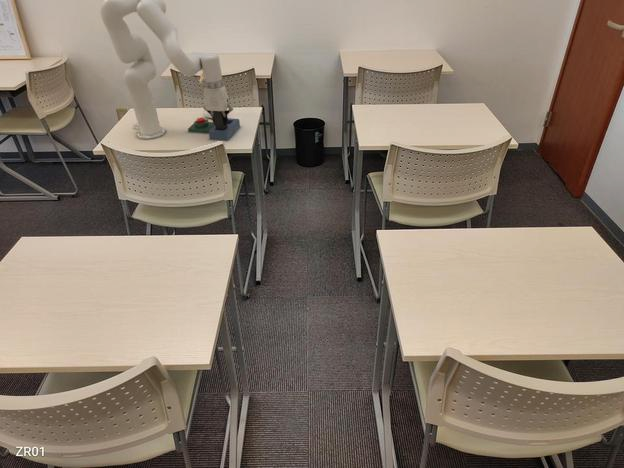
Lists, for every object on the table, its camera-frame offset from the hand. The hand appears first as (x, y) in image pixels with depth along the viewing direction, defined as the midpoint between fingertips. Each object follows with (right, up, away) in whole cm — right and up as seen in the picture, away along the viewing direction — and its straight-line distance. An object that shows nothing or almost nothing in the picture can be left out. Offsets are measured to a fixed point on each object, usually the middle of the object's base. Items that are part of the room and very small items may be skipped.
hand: (220, 123), depth 218 cm
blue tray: (+1, -3, +6) cm, 7 cm away
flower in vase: (-7, +9, +23) cm, 26 cm away
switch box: (-11, 0, +11) cm, 16 cm away
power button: (-11, +3, +10) cm, 15 cm away
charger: (0, -2, +1) cm, 2 cm away
